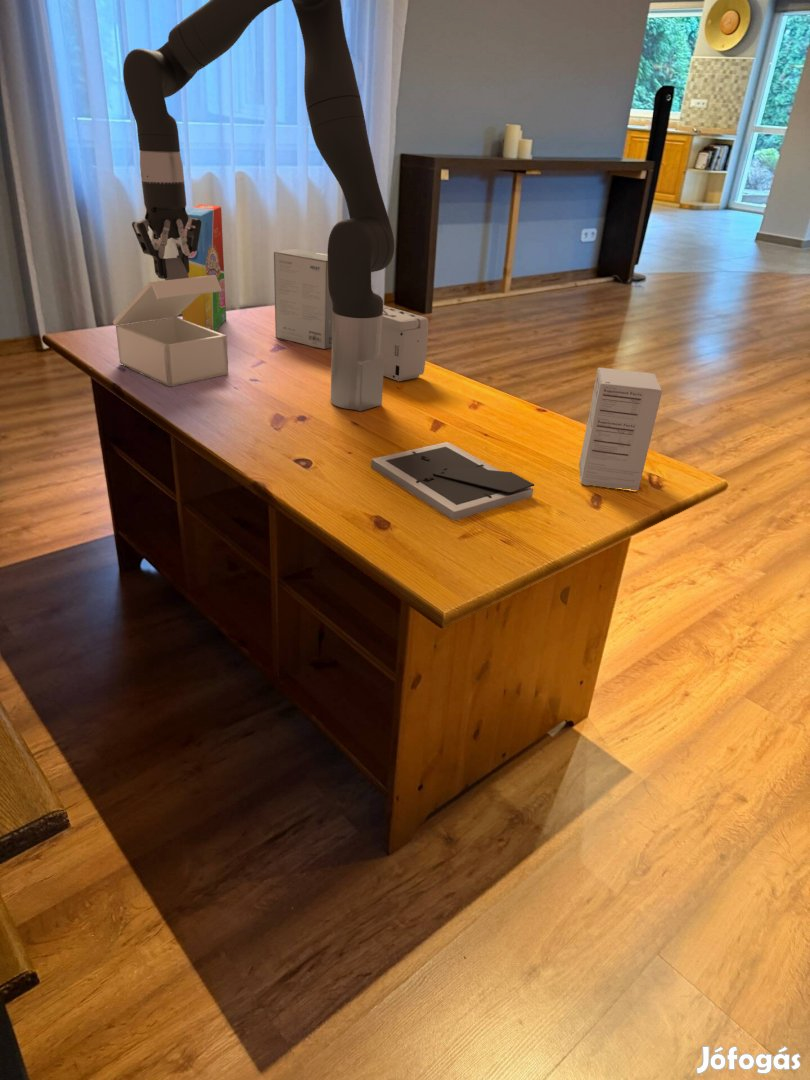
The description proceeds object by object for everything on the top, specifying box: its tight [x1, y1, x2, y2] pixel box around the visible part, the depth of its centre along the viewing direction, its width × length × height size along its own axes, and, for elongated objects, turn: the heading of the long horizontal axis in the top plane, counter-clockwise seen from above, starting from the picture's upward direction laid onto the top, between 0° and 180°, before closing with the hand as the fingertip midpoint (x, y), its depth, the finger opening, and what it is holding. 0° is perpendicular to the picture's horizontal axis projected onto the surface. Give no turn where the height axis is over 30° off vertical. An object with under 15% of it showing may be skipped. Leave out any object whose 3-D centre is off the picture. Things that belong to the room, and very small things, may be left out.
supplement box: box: [578, 367, 663, 491], centre depth 121 cm, size 10×9×17 cm
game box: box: [177, 204, 227, 331], centre depth 180 cm, size 21×6×27 cm, turn 179°
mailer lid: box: [112, 257, 222, 327], centre depth 152 cm, size 19×15×8 cm
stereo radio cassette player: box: [381, 304, 429, 383], centre depth 163 cm, size 21×8×20 cm, turn 46°
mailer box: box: [115, 316, 229, 387], centre depth 156 cm, size 18×14×8 cm
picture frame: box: [370, 441, 535, 521], centre depth 119 cm, size 16×3×21 cm
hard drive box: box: [273, 248, 333, 350], centre depth 179 cm, size 16×8×20 cm, turn 58°
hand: (173, 276), depth 147 cm, fingers closed on mailer lid, 4 cm apart
